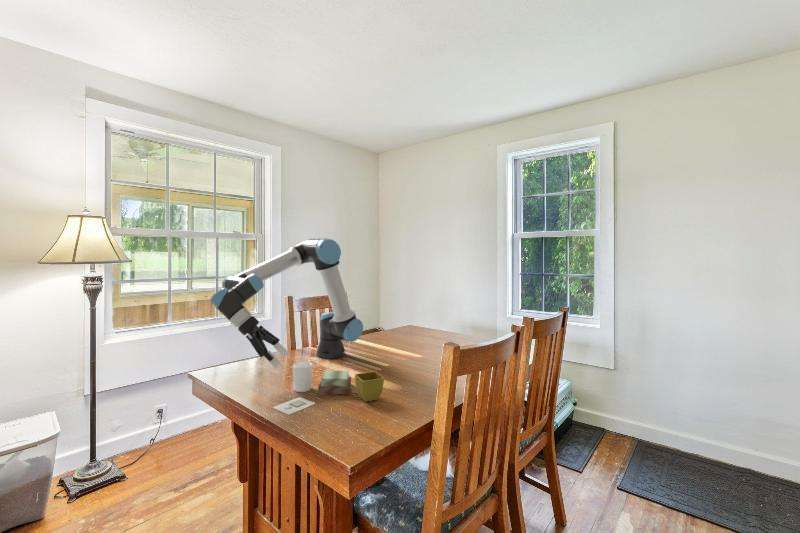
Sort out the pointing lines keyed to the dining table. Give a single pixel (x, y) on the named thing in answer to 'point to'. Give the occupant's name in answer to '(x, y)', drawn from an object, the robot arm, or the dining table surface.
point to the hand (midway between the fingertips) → (283, 360)
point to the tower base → (334, 389)
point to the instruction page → (293, 405)
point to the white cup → (302, 376)
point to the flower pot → (369, 385)
